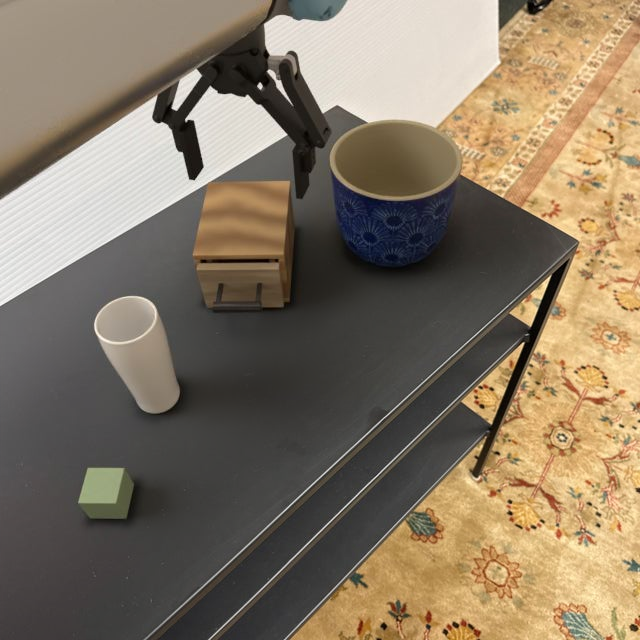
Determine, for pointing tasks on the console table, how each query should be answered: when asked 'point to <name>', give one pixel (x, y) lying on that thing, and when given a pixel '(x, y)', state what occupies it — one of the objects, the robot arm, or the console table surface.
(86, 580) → the console table surface
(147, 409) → the drinking glass
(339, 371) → the console table surface
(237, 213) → the cabinet
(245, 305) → the drawer
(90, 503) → the block
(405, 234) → the planter
